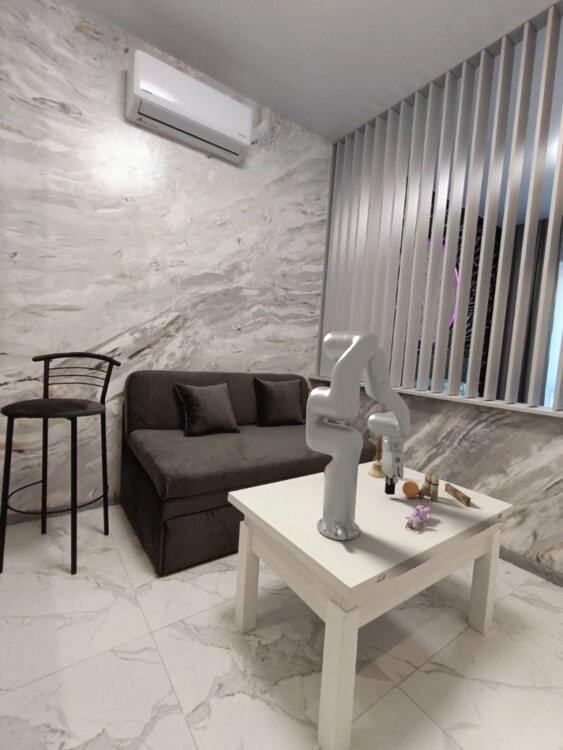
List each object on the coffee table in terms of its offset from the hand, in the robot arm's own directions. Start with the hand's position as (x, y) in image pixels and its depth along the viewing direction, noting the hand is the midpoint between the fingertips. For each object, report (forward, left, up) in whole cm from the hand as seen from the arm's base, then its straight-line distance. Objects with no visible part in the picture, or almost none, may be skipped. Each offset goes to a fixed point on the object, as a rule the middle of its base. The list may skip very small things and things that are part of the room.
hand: (389, 493), depth 132 cm
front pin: (0, -12, -1) cm, 12 cm away
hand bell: (+24, -4, -2) cm, 25 cm away
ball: (+1, -8, +2) cm, 9 cm away
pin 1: (+2, -16, -2) cm, 16 cm away
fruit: (+16, +18, -2) cm, 24 cm away
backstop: (0, -26, -2) cm, 27 cm away
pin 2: (-3, -16, -2) cm, 16 cm away
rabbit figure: (-19, -2, -2) cm, 19 cm away
